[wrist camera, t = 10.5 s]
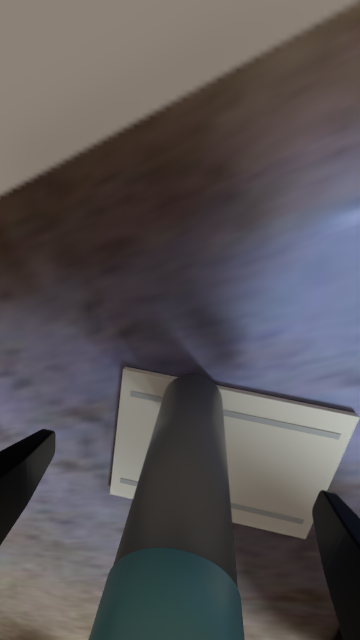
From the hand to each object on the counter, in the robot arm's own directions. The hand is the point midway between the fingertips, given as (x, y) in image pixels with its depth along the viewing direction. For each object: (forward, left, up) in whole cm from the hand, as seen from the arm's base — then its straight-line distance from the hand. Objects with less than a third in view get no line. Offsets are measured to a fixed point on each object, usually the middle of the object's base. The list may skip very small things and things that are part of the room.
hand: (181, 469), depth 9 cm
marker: (0, 0, -4) cm, 4 cm away
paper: (-3, -2, -4) cm, 6 cm away
